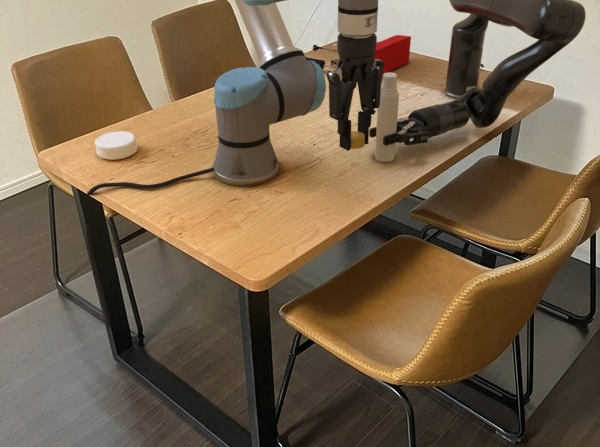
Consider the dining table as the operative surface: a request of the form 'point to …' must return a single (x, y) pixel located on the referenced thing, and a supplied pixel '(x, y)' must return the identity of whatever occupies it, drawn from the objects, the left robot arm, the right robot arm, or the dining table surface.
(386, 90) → the bottle
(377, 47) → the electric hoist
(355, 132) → the cap
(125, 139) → the white round container
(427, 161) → the dining table surface
